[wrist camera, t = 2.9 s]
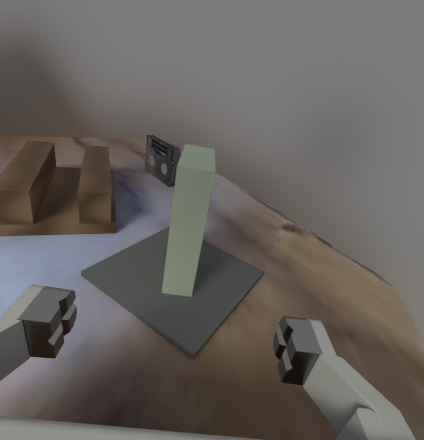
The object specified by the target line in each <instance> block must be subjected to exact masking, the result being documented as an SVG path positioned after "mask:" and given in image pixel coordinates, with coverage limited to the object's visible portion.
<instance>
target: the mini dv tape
mask: <svg viewBox="0 0 424 440" xmlns="http://www.w3.org/2000/svg"><path fill="white" fill-rule="evenodd" d="M180 157H181V150H179V149H177V148H176V147H174V146H172V145H170V144H168V143H166V142H164V141H163V140H161V139H159V138H157V137H155V136H154V135H147V148H146V164H145V169H146V170H147V171H149V172H150V173H151V174H153V175H154V176H155V177H157V178H158V179H160V180H161V181H162V182H164V183H165V184H166V185H168V186H169V187H172V186H175V179H176V170H177V164H178V162H179V159H180Z"/></svg>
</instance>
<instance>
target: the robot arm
mask: <svg viewBox="0 0 424 440" xmlns="http://www.w3.org/2000/svg"><path fill="white" fill-rule="evenodd" d="M75 298H76V296H75V291H73V290H68V289H61V288H54V287H48V286H39V285H31V286H29V287H28V288H27V289H26V290H25V291H24V292H23V293H22V294H21V296H20V297H19V298H18V299H17V300H16V301H15V302H14V304H13V305H12V306H11V307H10V308H9V309H8V310H7V312H6V313H5V314H4V315H3V316H2V317H1V318H0V381H1V380H2V379H3V378H4V377H6V376H7V375H8V374H10V373H11V372H12V371H14V370H15V369H16V368H18V367H19V366H20V365H21V364H23V363H24V362H25V361H27V360H28V359H29V358H30V357H43V358H56V356H57V354H58V353H59V351H60V349H61V347H62V345H63V344H64V335H66V334H67V333H69V332H70V331H71V329H72V327H73V325H74V322H75V319H76V314H77V307H76V306H75V304H74V303H73V302H74V300H75ZM280 327H281V328H279V329H278V330H276V333H275V336H274V352H275V355H276V357H277V358H278V359H279V360H280V361H279V364H278V370H279V374H280V378H281V382H282V383H290V384H297V385H303V387H304V389H305V390H306V391H307V393H308V394H309V396H310V397H311V398H312V400H313V401H314V402H315V404H316V405H317V406H318V408H319V409H320V411H321V412H322V413H323V415H324V416H325V417H326V419H327V420H328V421H329V423H330V424H331V425H332V427H333V428H334V430H335V431H336V432H337V434H338V436H337V438H336V439H335V440H416V439H415V437H414V436H413V434H412V432H411V430H410V428H409V427H408V425H407V423H406V421H405V419H404V418H403V416H402V414H401V412H400V411H399V410H398V409H397V408H396V407H395V406H394V405H393V404H392V403H391V402H389V401H388V400H387V399H386V398H385V397H384V396H383V395H382V394H381V393H380V392H379V391H377V390H376V389H375V388H374V387H373V386H372V385H371V384H370V383H369V382H368V381H367V380H366V379H364V378H363V377H362V376H361V375H360V374H359V373H358V372H357V371H356V370H355V369H354V368H352V367H351V366H350V365H349V364H348V363H347V362H346V361H345V360H344V359H343V358H342V357H338V356H337V355H336V352H335V350H334V348H333V346H332V343H331V341H330V339H329V337H328V335H327V332H326V330H325V328H324V326H323V323H322V322H321V321H320V320H312V319H303V318H294V317H286V316H283V317H282V318H281V320H280ZM0 440H264V439H253V438H242V437H231V436H219V435H208V434H197V433H186V432H175V431H163V430H152V429H140V428H129V427H118V426H106V425H95V424H84V423H73V422H61V421H50V420H39V419H28V418H17V417H5V416H0Z"/></svg>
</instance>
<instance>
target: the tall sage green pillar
mask: <svg viewBox="0 0 424 440" xmlns="http://www.w3.org/2000/svg"><path fill="white" fill-rule="evenodd" d="M214 177H215V149H211V148H205V147H199V146H194V145H188V144H185V146H184V149H183V151H182V154H181V157H180V159H179V162H178V164H177V170H176V179H175V187H174V195H173V204H172V212H171V220H170V229H169V237H168V245H167V254H166V262H165V270H164V278H163V287H162V293H166V294H174V295H181V296H189V297H192V292H193V287H194V282H195V277H196V271H197V266H198V261H199V256H200V250H201V245H202V240H203V235H204V229H205V224H206V219H207V214H208V208H209V203H210V198H211V193H212V188H213V182H214Z"/></svg>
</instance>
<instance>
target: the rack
mask: <svg viewBox="0 0 424 440" xmlns="http://www.w3.org/2000/svg"><path fill="white" fill-rule="evenodd" d="M92 233H116V219H115V205H114V191H113V178H112V170H110V167H109V148H108V147H99V146H86V148H85V154H84V159H83V165H82V169H81V168H62V167H56V158H55V148H54V143H50V142H37V141H28V142H27V143H26V144H25V146H24V147H23V148H22V149H21V150H20V152H19V153H18V154H17V155H16V157H15V158H14V159H13V160H12V162H11V163H10V164H9V165H8V166H7V168H6V169H5V170H4V171H3V173H2V174H1V175H0V236H10V235H51V234H92Z"/></svg>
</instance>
